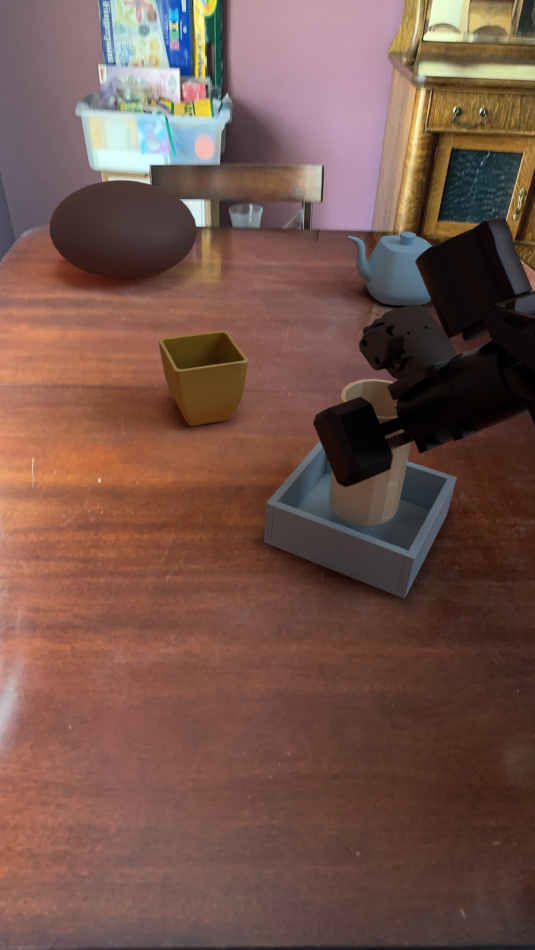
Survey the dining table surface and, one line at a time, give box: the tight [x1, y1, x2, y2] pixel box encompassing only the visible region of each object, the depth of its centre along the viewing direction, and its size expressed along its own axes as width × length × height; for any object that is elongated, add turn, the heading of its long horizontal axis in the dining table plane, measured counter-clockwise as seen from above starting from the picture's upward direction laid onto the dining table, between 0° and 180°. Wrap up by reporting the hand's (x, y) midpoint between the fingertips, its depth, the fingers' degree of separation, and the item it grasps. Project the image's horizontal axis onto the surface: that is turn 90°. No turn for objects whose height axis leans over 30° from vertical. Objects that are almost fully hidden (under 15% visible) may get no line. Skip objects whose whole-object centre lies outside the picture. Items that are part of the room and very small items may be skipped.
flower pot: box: [158, 330, 249, 427], centre depth 82 cm, size 9×9×9 cm
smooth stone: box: [49, 179, 198, 280], centre depth 117 cm, size 25×25×15 cm
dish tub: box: [263, 440, 458, 599], centre depth 67 cm, size 15×14×5 cm
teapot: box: [347, 231, 434, 306], centre depth 115 cm, size 13×11×18 cm
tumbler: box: [329, 378, 412, 525], centre depth 63 cm, size 7×7×12 cm
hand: (362, 440), depth 64 cm, fingers closed on tumbler, 7 cm apart
